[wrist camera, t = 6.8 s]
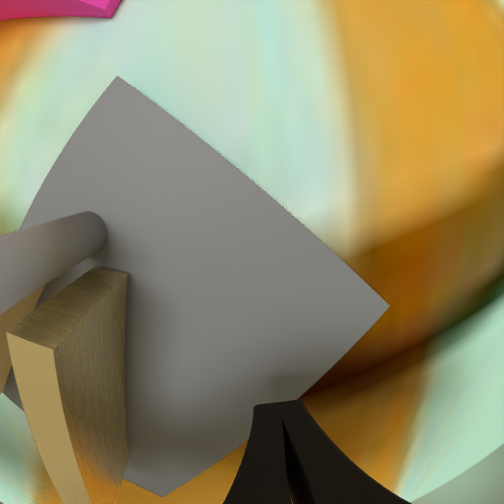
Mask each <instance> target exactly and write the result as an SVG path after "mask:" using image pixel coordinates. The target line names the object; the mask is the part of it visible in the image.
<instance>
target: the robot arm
mask: <svg viewBox="0 0 504 504" xmlns="http://www.w3.org/2000/svg"><path fill="white" fill-rule="evenodd" d="M291 499H292V501H291ZM292 502H293V504H411V503H410V502H408V501H406V500H404V499H402V498H400V497H399V496H397V495H396V494H394V493H393V492H391V491H389V490H388V489H386V488H385V487H383V486H382V485H381V484H379V483H378V482H377V481H375V480H374V479H372V478H371V477H370V476H369V475H367V474H366V473H365V472H364V471H363V470H361V469H360V468H359V467H358V466H357V465H356V464H355V463H354V462H352V461H351V460H350V459H349V458H348V457H347V456H346V455H345V454H344V453H343V452H342V451H341V450H340V449H339V448H338V447H337V446H336V445H335V444H334V443H333V441H332V440H331V439H330V438H329V437H328V436H327V435H326V434H325V433H324V431H323V430H322V429H321V428H320V426H319V425H318V424H317V423H316V421H315V420H314V419H313V417H312V416H311V415H310V413H309V412H308V410H307V409H306V407H305V406H304V404H303V403H302V401H300V400H299V399H297V400H290V401H283V402H275V403H266V404H257V405H256V406H254V407H253V420H252V426H251V431H250V436H249V440H248V443H247V446H246V450H245V453H244V456H243V459H242V462H241V465H240V467H239V470H238V472H237V475H236V477H235V480H234V482H233V484H232V486H231V489H230V491H229V493H228V495H227V497H226V499H225V501H224V503H223V504H292Z"/></svg>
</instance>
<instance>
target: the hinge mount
mask: <svg viewBox="0 0 504 504" xmlns="http://www.w3.org/2000/svg"><path fill="white" fill-rule="evenodd" d="M93 267H99V268H103V269H108V270H113V271H117V272H122V273H127V274H128V281H127V296H126V316H125V401H126V420H127V435H128V447H129V459H128V462H127V466H126V469H125V472H124V476H123V478H124V479H125V480H127V481H129V482H131V483H133V484H135V485H137V486H139V487H141V488H143V489H146V490H148V491H150V492H152V493H154V494H156V495H159V496H161V497H164V496H165V495H167V494H169V493H170V492H172V491H174V490H175V489H177V488H179V487H180V486H182V485H183V484H185V483H187V482H188V481H190V480H191V479H193V478H194V477H196V476H197V475H199V474H200V473H202V472H203V471H205V470H206V469H208V468H209V467H211V466H212V465H214V464H215V463H217V462H218V461H219V460H221V459H222V458H224V457H225V456H226V455H228V454H229V453H231V452H232V451H233V450H235V449H236V448H237V447H239V446H240V445H241V444H243V443H244V442H245V441H247V440H248V439H249V436H250V431H251V426H252V420H253V407H254V406H256V405H257V404H266V403H275V402H283V401H290V400H297V399H298V398H299V397H300V396H301V395H302V394H303V393H305V392H306V391H307V390H308V389H309V388H310V387H311V386H312V385H313V384H314V383H316V382H317V381H318V380H319V379H320V378H321V377H322V376H323V375H324V374H325V373H326V372H327V371H328V370H329V369H330V368H331V367H332V366H333V365H334V364H335V363H337V362H338V361H339V360H340V359H341V358H342V357H343V356H344V355H345V354H346V353H347V352H348V351H349V350H350V348H351V347H352V346H353V345H354V344H355V343H356V342H357V341H358V340H359V339H360V338H361V337H362V336H363V335H364V334H365V333H366V332H367V331H368V330H369V329H370V327H371V326H372V325H373V324H374V323H375V322H376V321H377V320H378V319H379V318H380V316H381V315H382V314H383V313H384V312H385V311H386V310H387V309H388V307H389V305H388V304H387V303H386V302H385V301H384V300H383V299H382V298H381V297H380V296H379V295H378V294H377V293H376V292H375V291H374V290H373V289H372V288H371V287H370V286H369V285H368V284H367V283H366V282H365V281H363V280H362V279H361V278H360V277H359V276H358V275H357V274H356V273H355V272H354V271H353V270H352V269H351V268H350V267H349V266H348V265H347V264H345V263H344V262H343V261H342V260H341V259H340V258H339V257H338V256H337V255H336V254H335V253H334V252H333V251H331V250H330V249H329V248H328V247H327V246H326V245H325V244H324V243H323V242H322V241H320V240H319V239H318V238H317V237H316V236H315V235H314V234H313V233H312V232H310V231H309V230H308V229H307V228H306V227H305V226H304V225H303V224H302V223H300V222H299V221H298V220H297V219H296V218H295V217H294V216H292V215H291V214H290V213H289V212H288V211H287V210H286V209H284V208H283V207H282V206H281V205H280V204H279V203H278V202H276V201H275V200H274V199H273V198H272V197H271V196H269V195H268V194H267V193H266V192H265V191H264V190H262V189H261V188H260V187H259V186H258V185H257V184H255V183H254V182H253V181H252V180H251V179H249V178H248V177H247V176H246V175H245V174H243V173H242V172H241V171H240V170H239V169H237V168H236V167H235V166H234V165H233V164H231V163H230V162H229V161H228V160H226V159H225V158H224V157H223V156H222V155H220V154H219V153H218V152H217V151H215V150H214V149H213V148H212V147H210V146H209V145H208V144H207V143H205V142H204V141H203V140H202V139H200V138H199V137H198V136H197V135H195V134H194V133H193V132H192V131H190V130H189V129H188V128H186V127H185V126H184V125H183V124H181V123H180V122H179V121H177V120H176V119H175V118H174V117H172V116H171V115H170V114H168V113H167V112H166V111H164V110H163V109H162V108H161V107H159V106H158V105H157V104H155V103H154V102H153V101H151V100H150V99H149V98H147V97H146V96H145V95H143V94H142V93H140V92H139V91H138V90H136V89H135V88H134V87H132V86H131V85H130V84H128V83H127V82H125V81H124V80H123V79H121V78H120V77H118V76H117V77H116V78H115V79H114V80H113V81H112V83H111V84H110V85H109V86H108V87H107V89H106V90H105V91H104V92H103V94H102V95H101V96H100V98H99V99H98V100H97V101H96V103H95V104H94V105H93V107H92V108H91V109H90V111H89V112H88V113H87V115H86V116H85V118H84V119H83V120H82V122H81V123H80V125H79V126H78V127H77V129H76V130H75V132H74V133H73V135H72V136H71V138H70V139H69V141H68V142H67V144H66V145H65V147H64V148H63V150H62V152H61V153H60V155H59V156H58V158H57V160H56V161H55V163H54V165H53V166H52V168H51V170H50V171H49V173H48V175H47V177H46V178H45V180H44V182H43V184H42V186H41V187H40V189H39V191H38V193H37V195H36V197H35V199H34V200H33V202H32V204H31V206H30V208H29V210H28V212H27V214H26V216H25V219H24V221H23V223H22V225H21V227H20V229H19V230H18V231H15V232H11V233H8V234H5V235H2V236H0V394H1V393H2V392H3V393H4V394H5V395H6V396H7V397H8V398H9V399H10V400H11V401H12V402H14V403H15V404H16V405H17V406H18V407H19V408H20V409H22V410H23V411H24V408H23V404H22V401H21V398H20V394H19V390H18V387H17V383H16V379H15V374H14V370H13V366H12V361H11V356H10V351H9V346H8V340H7V334H6V332H7V331H8V330H9V329H11V328H12V327H13V326H14V325H16V324H17V323H18V322H19V321H21V320H22V319H23V318H25V317H26V316H27V315H28V314H30V313H31V312H32V311H34V310H35V309H36V308H38V307H39V306H40V305H42V304H43V303H44V302H46V301H47V300H48V299H50V298H51V297H52V296H54V295H55V294H56V293H58V292H59V291H61V290H62V289H63V288H65V287H66V286H67V285H69V284H70V283H72V282H73V281H75V280H76V279H77V278H79V277H80V276H82V275H83V274H84V273H86V272H87V271H89V270H90V269H92V268H93ZM24 412H25V411H24Z"/></svg>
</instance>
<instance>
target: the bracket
mask: <svg viewBox="0 0 504 504" xmlns="http://www.w3.org/2000/svg"><path fill="white" fill-rule="evenodd" d="M120 2H121V0H0V20H8V19H18V18H30V17H52V16H80V17H102V18H111V17H112V15H113V14H114V12H115V10H116V8H117V7H118V5H119V3H120Z"/></svg>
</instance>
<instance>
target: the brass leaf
mask: <svg viewBox="0 0 504 504" xmlns="http://www.w3.org/2000/svg"><path fill="white" fill-rule="evenodd" d="M127 281H128V274H127V273H122V272H117V271H113V270H108V269H103V268H99V267H93V268H92V269H90V270H89V271H87V272H86V273H84V274H83V275H82V276H80V277H79V278H77V279H76V280H75V281H73V282H72V283H70V284H69V285H67V286H66V287H65V288H63V289H62V290H61V291H59V292H58V293H56V294H55V295H54V296H52V297H51V298H50V299H48V300H47V301H46V302H44V303H43V304H42V305H40V306H39V307H38V308H36V309H35V310H34V311H32V312H31V313H30V314H28V315H27V316H26V317H25V318H23V319H22V320H21V321H19V322H18V323H17V324H16V325H14V326H13V327H12V328H11V329H9V330H8V331H7V332H6V334H7V340H8V346H9V351H10V356H11V361H12V366H13V370H14V374H15V379H16V383H17V387H18V390H19V394H20V398H21V401H22V404H23V408H24V411H25V414H26V417H27V420H28V423H29V426H30V429H31V432H32V435H33V438H34V440H35V443H36V446H37V448H38V451H39V453H40V456H41V458H42V461H43V463H44V465H45V468H46V470H47V472H48V474H49V476H50V479H51V481H52V483H53V485H54V487H55V489H56V491H57V493H58V495H59V497H60V499H61V501H62V503H63V504H115V503H116V500H117V496H118V493H119V489H120V486H121V482H122V479H123V476H124V472H125V469H126V466H127V462H128V459H129V447H128V435H127V420H126V401H125V316H126V296H127Z"/></svg>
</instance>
